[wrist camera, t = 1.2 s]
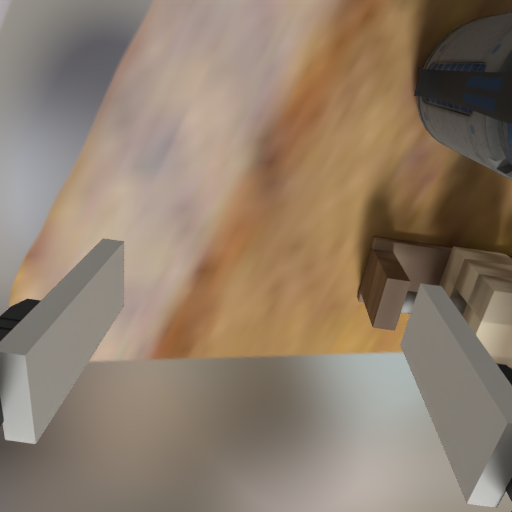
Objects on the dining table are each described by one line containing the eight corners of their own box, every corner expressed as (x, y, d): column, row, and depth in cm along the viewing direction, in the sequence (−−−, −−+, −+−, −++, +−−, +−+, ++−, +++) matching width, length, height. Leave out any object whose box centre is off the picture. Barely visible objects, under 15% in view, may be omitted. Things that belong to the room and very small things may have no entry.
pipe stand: (357, 297, 45) (370, 337, 39) (374, 236, 42) (390, 268, 36) (563, 327, 45) (609, 371, 39) (593, 268, 42) (649, 305, 36)
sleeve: (425, 322, 44) (457, 379, 36) (453, 246, 40) (494, 290, 33) (473, 329, 44) (515, 387, 36) (505, 253, 40) (559, 300, 33)
